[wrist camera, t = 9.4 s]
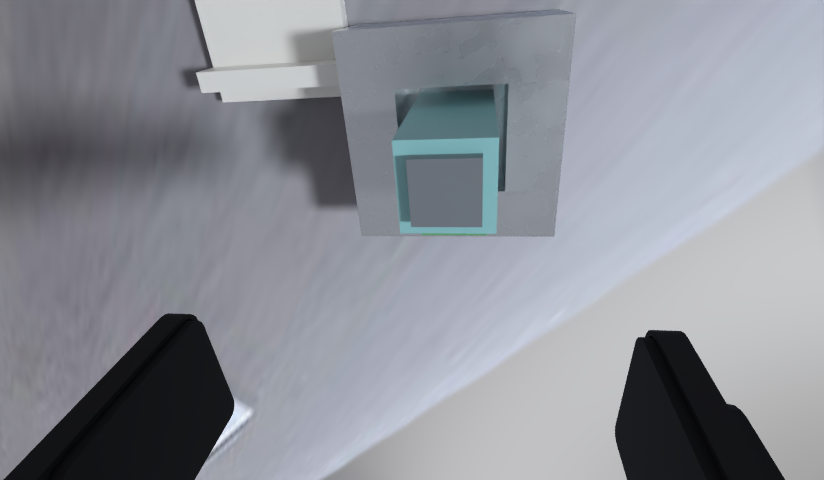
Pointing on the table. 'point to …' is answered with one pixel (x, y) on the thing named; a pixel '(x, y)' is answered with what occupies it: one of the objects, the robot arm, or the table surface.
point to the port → (460, 71)
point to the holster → (271, 48)
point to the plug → (448, 164)
